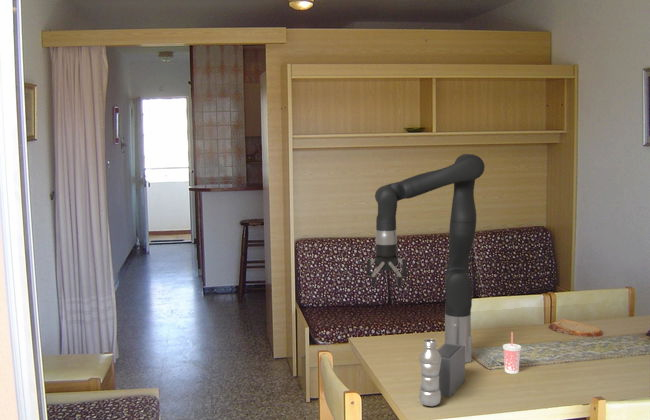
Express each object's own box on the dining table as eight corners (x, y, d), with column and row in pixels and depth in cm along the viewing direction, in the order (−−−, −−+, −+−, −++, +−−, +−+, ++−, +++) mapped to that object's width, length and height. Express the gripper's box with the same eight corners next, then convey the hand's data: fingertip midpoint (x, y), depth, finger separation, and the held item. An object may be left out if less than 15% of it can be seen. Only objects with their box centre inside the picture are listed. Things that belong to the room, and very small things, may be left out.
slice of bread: (605, 337, 270) (606, 328, 270) (562, 338, 269) (562, 329, 269) (586, 325, 288) (586, 316, 288) (545, 326, 287) (545, 317, 287)
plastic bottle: (416, 401, 206) (416, 338, 204) (438, 400, 207) (438, 337, 205) (421, 409, 200) (421, 344, 198) (443, 408, 200) (443, 343, 198)
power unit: (464, 380, 223) (465, 345, 222) (450, 397, 209) (450, 359, 208) (443, 377, 226) (443, 342, 225) (427, 393, 212) (427, 355, 211)
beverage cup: (511, 375, 227) (511, 335, 226) (498, 370, 232) (499, 331, 231) (524, 372, 230) (525, 332, 229) (511, 367, 235) (512, 328, 234)
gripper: (366, 244, 234) (366, 289, 235) (407, 243, 233) (407, 289, 235) (366, 240, 241) (366, 284, 243) (405, 240, 240) (405, 284, 242)
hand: (386, 287), depth 239 cm, fingers open, 8 cm apart
